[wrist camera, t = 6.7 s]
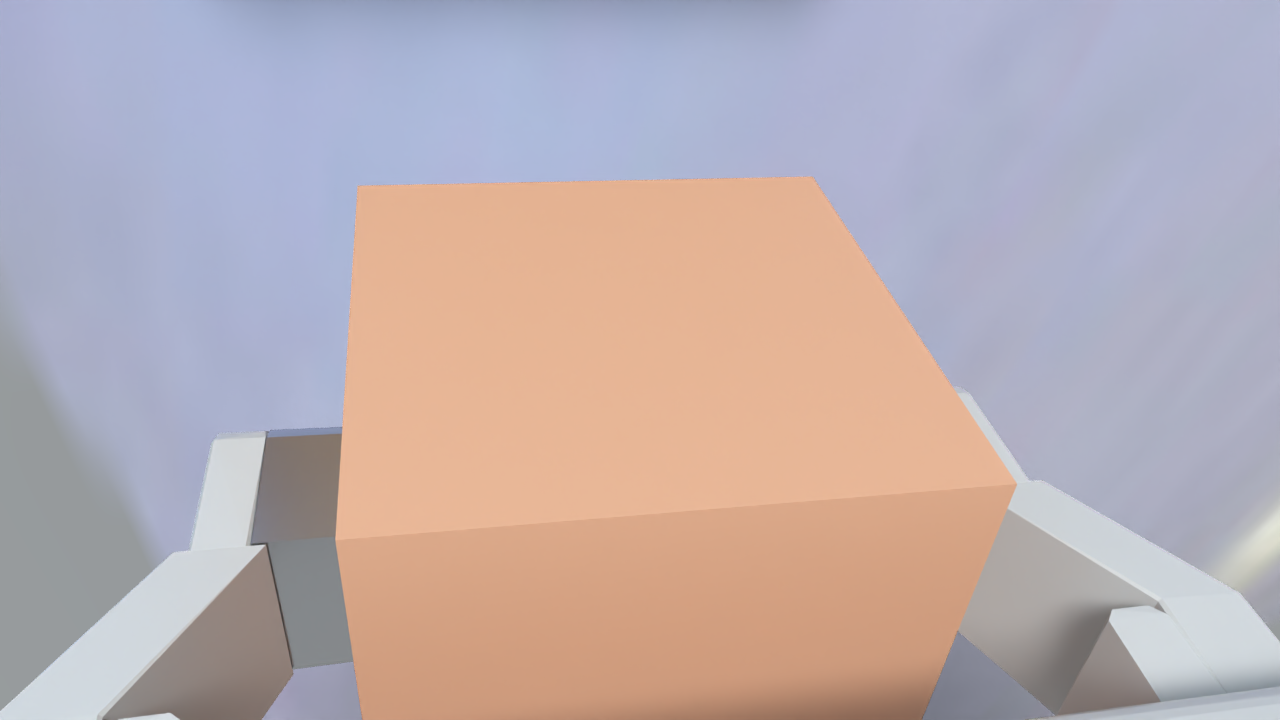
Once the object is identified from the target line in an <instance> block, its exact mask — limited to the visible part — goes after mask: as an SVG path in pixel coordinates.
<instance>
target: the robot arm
mask: <svg viewBox="0 0 1280 720" xmlns="http://www.w3.org/2000/svg"><path fill="white" fill-rule="evenodd" d="M953 388H954V390H955V391H956V393H957V394H958V396H959V397H960V399H961V400H962V402H963V403H964V405H965V406H966V408H967V409H968V411H969V412H970V414H971V415H972V417H973V418H974V420H975V421H976V423H977V424H978V426H979V427H980V429H981V430H982V432H983V433H984V435H985V436H986V438H987V439H988V441H989V442H990V444H991V445H992V447H993V448H994V450H995V451H996V453H997V454H998V456H999V457H1000V459H1001V460H1002V462H1003V463H1004V465H1005V466H1006V468H1007V469H1008V471H1009V472H1010V474H1011V475H1012V477H1013V478H1014V480H1015V481H1016V483H1017V486H1016V489H1015V491H1014V493H1013V496H1012V498H1011V501H1010V503H1009V506H1008V508H1007V511H1006V513H1005V516H1004V518H1003V521H1002V523H1001V526H1000V528H999V530H998V533H997V535H996V538H995V540H994V543H993V545H992V548H991V550H990V553H989V555H988V558H987V560H986V563H985V565H984V567H983V570H982V572H981V575H980V577H979V580H978V582H977V585H976V587H975V590H974V592H973V595H972V597H971V600H970V602H969V604H968V607H967V609H966V612H965V614H964V617H963V619H962V622H961V624H960V627H959V629H958V632H959V633H961V634H962V635H963V636H964V637H965V638H966V639H968V640H969V641H970V642H971V643H972V644H973V645H975V646H976V647H977V648H978V649H979V650H980V651H982V652H983V653H984V654H985V655H986V656H987V657H989V658H990V659H991V660H992V661H993V662H994V663H996V664H997V665H998V666H999V667H1000V668H1001V669H1003V670H1004V671H1005V672H1006V673H1007V674H1008V675H1009V676H1011V677H1012V678H1013V679H1014V680H1015V681H1016V682H1018V683H1019V684H1020V685H1021V686H1022V687H1023V688H1025V689H1026V690H1027V691H1028V692H1029V693H1030V694H1032V695H1033V696H1034V697H1035V698H1036V699H1037V700H1039V701H1040V702H1041V703H1042V704H1043V705H1044V706H1046V707H1047V708H1048V709H1049V710H1050V711H1051V712H1053V713H1054V714H1055V715H1056V716H1049V717H1041V718H1034V719H1026V720H1280V642H1279V640H1278V639H1277V638H1276V637H1275V636H1274V634H1273V633H1272V632H1271V631H1270V629H1269V628H1268V627H1267V626H1266V624H1265V623H1264V622H1263V621H1262V619H1261V618H1260V617H1259V616H1258V614H1257V613H1256V612H1255V611H1254V610H1253V608H1252V607H1251V606H1250V605H1249V603H1248V602H1247V601H1246V600H1245V598H1244V597H1243V596H1242V595H1241V593H1239V592H1237V591H1236V590H1234V589H1232V588H1230V587H1229V586H1227V585H1225V584H1223V583H1222V582H1220V581H1218V580H1216V579H1215V578H1213V577H1211V576H1209V575H1208V574H1206V573H1204V572H1202V571H1201V570H1199V569H1197V568H1195V567H1194V566H1192V565H1190V564H1188V563H1187V562H1185V561H1183V560H1181V559H1180V558H1178V557H1176V556H1174V555H1173V554H1171V553H1169V552H1167V551H1165V550H1164V549H1162V548H1160V547H1158V546H1157V545H1155V544H1153V543H1151V542H1150V541H1148V540H1146V539H1144V538H1143V537H1141V536H1139V535H1137V534H1136V533H1134V532H1132V531H1130V530H1129V529H1127V528H1125V527H1123V526H1122V525H1120V524H1118V523H1116V522H1115V521H1113V520H1111V519H1109V518H1108V517H1106V516H1104V515H1102V514H1101V513H1099V512H1097V511H1095V510H1093V509H1092V508H1090V507H1088V506H1086V505H1085V504H1083V503H1081V502H1079V501H1078V500H1076V499H1074V498H1072V497H1071V496H1069V495H1067V494H1065V493H1064V492H1062V491H1060V490H1058V489H1057V488H1055V487H1053V486H1051V485H1050V484H1048V483H1046V482H1044V481H1043V480H1039V481H1030V480H1029V479H1028V477H1027V476H1026V475H1025V473H1024V472H1023V470H1022V469H1021V467H1020V466H1019V464H1018V463H1017V462H1016V460H1015V459H1014V457H1013V456H1012V454H1011V453H1010V451H1009V450H1008V449H1007V447H1006V446H1005V444H1004V443H1003V441H1002V440H1001V438H1000V437H999V436H998V434H997V433H996V431H995V430H994V428H993V427H992V425H991V424H990V423H989V421H988V420H987V418H986V417H985V415H984V414H983V412H982V411H981V410H980V408H979V407H978V405H977V404H976V402H975V401H974V399H973V398H972V397H971V395H970V394H969V392H968V391H966V390H965V389H963V388H961V387H959V386H955V387H953ZM341 442H342V427H330V428H306V429H282V430H270V432H268V431H254V432H231V433H218V434H217V436H216V437H215V439H214V440H213V442H212V443H211V447H210V452H209V456H208V461H207V466H206V470H205V475H204V480H203V484H202V489H201V494H200V498H199V503H198V508H197V512H196V517H195V522H194V527H193V531H192V536H191V541H190V545H189V550H188V551H182V552H173V553H172V554H170V555H169V556H168V557H167V558H166V559H165V560H164V561H163V562H162V563H161V564H160V565H158V566H157V567H156V568H155V569H154V570H153V571H152V572H151V573H150V574H149V575H148V576H147V577H146V578H144V579H143V580H142V581H141V582H140V583H139V584H138V585H137V586H136V587H135V588H134V589H132V591H130V592H129V593H128V594H127V595H126V596H125V597H124V598H123V599H122V600H121V601H119V602H118V603H117V604H116V605H115V606H114V607H113V608H112V609H111V610H110V611H109V612H107V614H105V615H104V616H103V617H102V618H101V619H100V620H99V621H98V622H97V623H96V624H94V625H93V626H92V627H91V628H90V629H89V630H88V631H87V632H86V633H85V634H84V635H83V636H81V637H80V638H79V639H78V640H77V641H76V642H75V643H74V644H73V645H72V646H71V647H70V648H68V649H67V650H66V651H65V652H64V653H63V654H62V655H61V656H60V657H59V658H58V659H57V660H55V661H54V662H53V663H52V664H51V665H50V666H49V667H48V668H47V669H46V670H45V671H43V672H42V673H41V674H40V675H39V676H38V677H37V678H36V679H35V680H34V681H33V682H32V683H30V684H29V685H28V686H27V687H26V688H25V689H24V690H23V691H22V692H21V693H20V694H19V695H17V696H16V697H15V698H14V699H13V700H12V701H11V702H10V703H9V704H8V705H7V706H6V707H4V708H3V709H2V710H1V711H0V720H262V718H263V717H264V715H265V714H266V712H267V711H268V710H269V708H270V707H271V705H272V704H273V702H274V701H275V700H276V698H277V697H278V695H279V694H280V693H281V691H282V690H283V688H284V687H285V685H286V684H287V683H288V681H289V680H290V678H291V677H292V675H293V670H292V669H300V668H307V667H315V666H322V665H330V664H338V663H345V662H353V655H352V648H351V641H350V635H349V628H348V621H347V615H346V608H345V602H344V595H343V588H342V582H341V575H340V568H339V562H338V555H337V549H336V542H335V536H336V520H337V505H338V489H339V473H340V457H341Z"/></svg>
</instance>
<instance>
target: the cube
mask: <svg viewBox="0 0 1280 720" xmlns="http://www.w3.org/2000/svg"><path fill="white" fill-rule="evenodd" d="M1016 486H1017V483H1016V481H1015V480H1014V478H1013V477H1012V475H1011V474H1010V472H1009V471H1008V469H1007V468H1006V466H1005V465H1004V463H1003V462H1002V460H1001V459H1000V457H999V456H998V454H997V453H996V451H995V450H994V448H993V447H992V445H991V444H990V442H989V441H988V439H987V438H986V436H985V435H984V433H983V432H982V430H981V429H980V427H979V426H978V424H977V423H976V421H975V420H974V418H973V417H972V415H971V414H970V412H969V411H968V409H967V408H966V406H965V405H964V403H963V402H962V400H961V399H960V397H959V396H958V394H957V393H956V391H955V390H954V388H953V387H952V385H951V384H950V382H949V381H948V379H947V378H946V376H945V375H944V373H943V372H942V370H941V369H940V367H939V366H938V364H937V363H936V361H935V360H934V358H933V357H932V355H931V354H930V352H929V351H928V349H927V348H926V346H925V345H924V343H923V342H922V340H921V339H920V337H919V336H918V334H917V333H916V331H915V330H914V328H913V327H912V325H911V324H910V322H909V321H908V319H907V318H906V316H905V315H904V313H903V312H902V310H901V309H900V307H899V306H898V304H897V303H896V301H895V300H894V298H893V297H892V295H891V294H890V292H889V291H888V289H887V288H886V286H885V285H884V283H883V282H882V280H881V279H880V277H879V276H878V274H877V273H876V271H875V270H874V268H873V267H872V265H871V264H870V262H869V261H868V259H867V258H866V256H865V255H864V253H863V252H862V250H861V249H860V247H859V246H858V244H857V243H856V241H855V240H854V238H853V237H852V235H851V234H850V232H849V231H848V229H847V228H846V226H845V224H844V223H843V221H842V220H841V218H840V217H839V215H838V214H837V212H836V211H835V209H834V208H833V206H832V205H831V203H830V202H829V200H828V199H827V197H826V196H825V194H824V193H823V191H822V190H821V188H820V187H819V185H818V184H817V182H816V181H815V179H814V178H813V177H770V178H720V179H670V180H621V181H571V182H521V183H471V184H422V185H372V186H358V190H357V205H356V221H355V237H354V253H353V268H352V284H351V300H350V316H349V331H348V347H347V363H346V379H345V394H344V410H343V426H342V442H341V457H340V473H339V489H338V505H337V520H336V536H335V542H336V549H337V555H338V562H339V568H340V575H341V582H342V588H343V595H344V602H345V608H346V615H347V621H348V628H349V635H350V641H351V648H352V655H353V661H354V668H355V674H356V681H357V688H358V694H359V701H360V708H361V714H362V720H922V718H923V716H924V713H925V711H926V708H927V706H928V703H929V701H930V698H931V696H932V693H933V691H934V688H935V686H936V683H937V681H938V678H939V676H940V674H941V671H942V669H943V666H944V664H945V661H946V659H947V656H948V654H949V651H950V649H951V646H952V644H953V641H954V639H955V637H956V634H957V632H958V629H959V627H960V624H961V622H962V619H963V617H964V614H965V612H966V609H967V607H968V604H969V602H970V600H971V597H972V595H973V592H974V590H975V587H976V585H977V582H978V580H979V577H980V575H981V572H982V570H983V567H984V565H985V563H986V560H987V558H988V555H989V553H990V550H991V548H992V545H993V543H994V540H995V538H996V535H997V533H998V530H999V528H1000V526H1001V523H1002V521H1003V518H1004V516H1005V513H1006V511H1007V508H1008V506H1009V503H1010V501H1011V498H1012V496H1013V493H1014V491H1015V489H1016Z"/></svg>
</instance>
